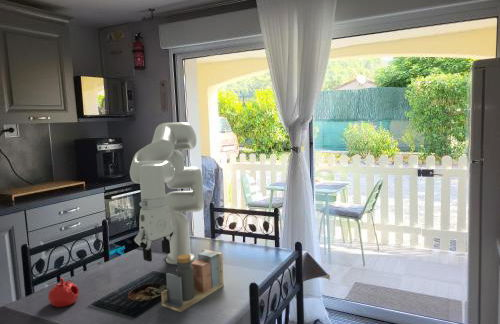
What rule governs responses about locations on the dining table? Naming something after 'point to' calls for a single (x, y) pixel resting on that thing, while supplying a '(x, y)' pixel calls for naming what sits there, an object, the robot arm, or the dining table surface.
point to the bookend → (174, 290)
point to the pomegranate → (63, 294)
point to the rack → (202, 278)
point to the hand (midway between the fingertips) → (157, 256)
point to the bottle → (186, 276)
